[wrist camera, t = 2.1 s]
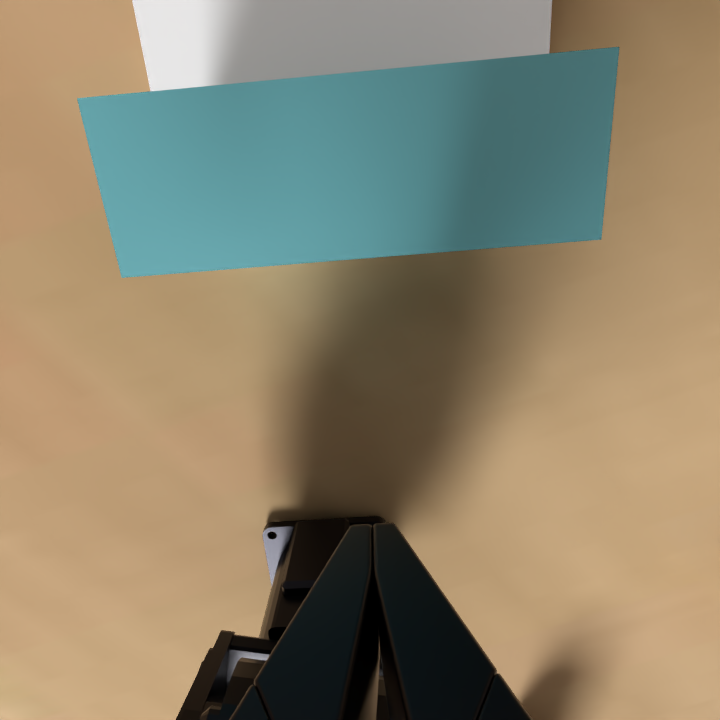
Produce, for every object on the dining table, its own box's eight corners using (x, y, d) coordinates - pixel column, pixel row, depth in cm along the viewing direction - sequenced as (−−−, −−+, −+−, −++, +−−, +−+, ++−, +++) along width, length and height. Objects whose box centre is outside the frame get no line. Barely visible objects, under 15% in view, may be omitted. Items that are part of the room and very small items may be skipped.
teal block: (499, 234, 18) (601, 239, 10) (223, 256, 18) (121, 277, 11) (502, 130, 17) (619, 46, 9) (206, 156, 17) (76, 97, 9)
